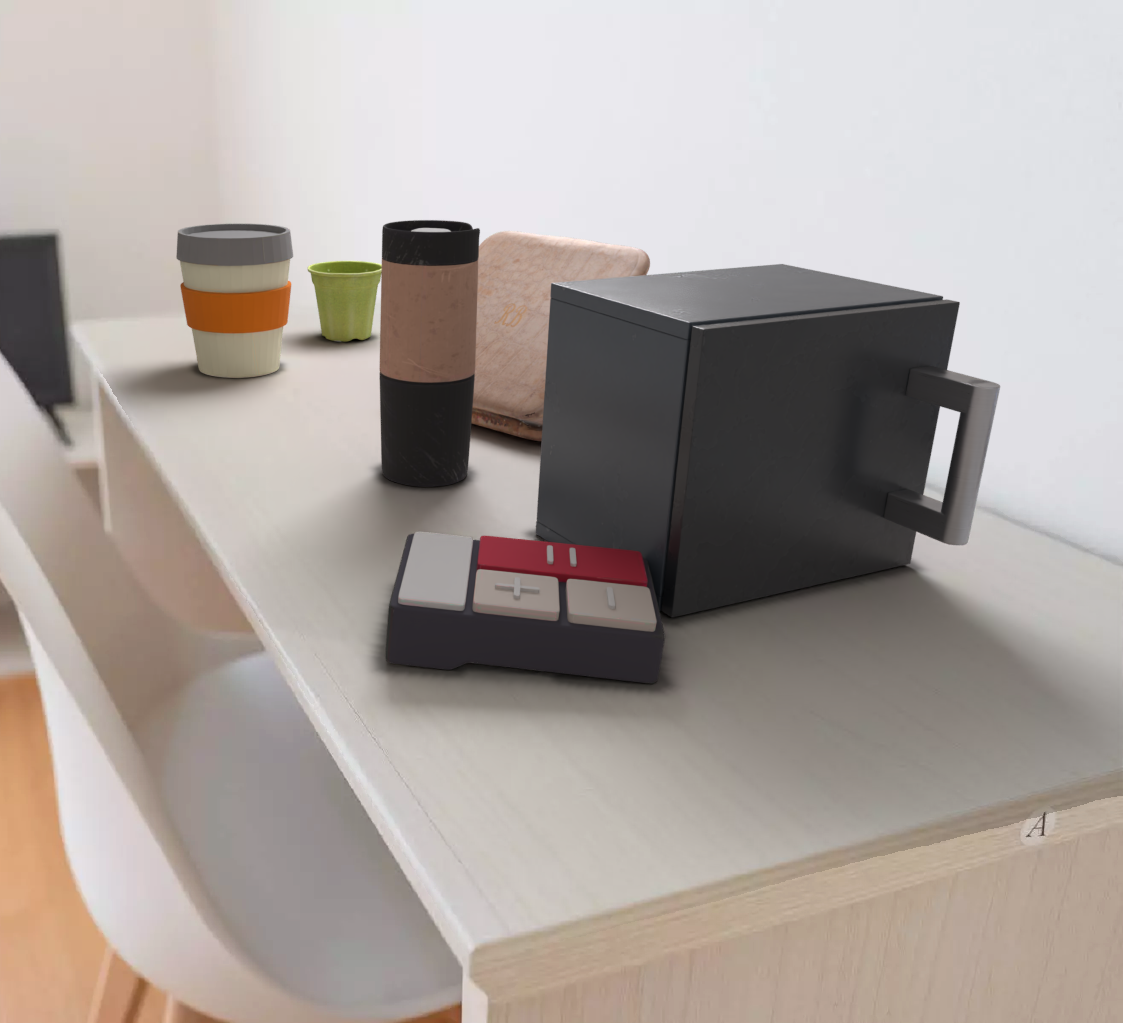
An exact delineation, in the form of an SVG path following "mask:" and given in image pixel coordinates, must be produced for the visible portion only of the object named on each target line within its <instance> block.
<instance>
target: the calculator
mask: <svg viewBox="0 0 1123 1023" xmlns="http://www.w3.org/2000/svg"><path fill="white" fill-rule="evenodd" d="M402 550H403V551H402V554H401V558H400V562H399V566H398V569H397V573H396V577H395V581H394V584H393V588H392V593H391V596H390V599H389V603H388V612H387V626H386V639H385V640H386V641H385V652H384V657H385V658H384V659H385V661H386V662H388V663H390V664H394V665H402V666H410V667H421V668H428V669H429V668H430V669H436V670H437V669H438V670H447V671H451V670H454V669H456V668H458V667H459V668H460V667H461V666H464V665H466V664H478V665H485V666H493V667H494V666H495V667H503V668H512V669H521V670H528V671H529V670H530V671H539V672H547V673H554V674H564V675H572V676H582V677H589V678H591V677H592V678H597V679H606V680H615V681H624V682H633V683H641V684H655V683H657V682H658V679H659V675H660V668H661V662H662V657H663V652H664V646H665V645H664V644H665V641H666V640H665V639H666V633H665V628H664V625H663V624H664V623H663V621H662V616H661V611H659V607H658V603H657V599H656V594H655V590H654V586H653V581H652V577H651V573H650V568H649V564H648V561H647V559H645V558H643V557H642V554H641V552H639V551H632V550H622V549H613V548H603V547H593V546H583V545H574V544H564V543H554V542H548V541H546V540H544V541H543V540H533V539H524V538H514V537H506V536H505V537H504V536H497V535H496V536H494V535H484V534H483V535H481V536H480V538H479V539H474V538H473V537H472V536H467V535H457V534H448V533H439V532H438V533H437V532H430V531H429V532H428V531H415V532H414V533H410V534H408V535H407V537H406V540H405V544H404V547H403V549H402Z"/></svg>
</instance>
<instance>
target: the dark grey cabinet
mask: <svg viewBox="0 0 1123 1023" xmlns="http://www.w3.org/2000/svg"><path fill="white" fill-rule="evenodd" d="M550 297H551V299H550V313H549V329H548V345H547V361H546V377H545V393H544V409H543V425H542V441H540V442H541V444H540V446H541V447H540V459H539V474H538V490H537V492H538V494H537V506H536V520H535V535H537V536H538V537H540V538H542V539H543V540H544V541H545V542H554V543H564V544H574V545H583V546H593V547H603V548H613V549H622V550H632V551H639V552H641V554H642V557H643V558H645V559H647V561H648V564H649V568H650V573H651V577H652V581H653V586H654V590H655V594H656V599H657V603H658V607H659V611H660V612H662V603H663V594H664V585H665V575H666V566H667V557H668V548H669V538H670V529H671V520H672V510H673V501H674V492H675V482H676V473H677V464H678V455H679V445H680V436H681V427H682V417H683V408H684V399H685V389H686V380H687V371H688V361H689V352H690V343H691V334H692V326H699V325H709V324H718V323H728V322H737V321H747V320H756V319H766V318H775V317H785V316H794V315H804V314H813V313H823V312H832V311H842V310H851V309H861V308H870V307H880V306H889V305H899V304H908V303H918V302H927V301H937V300H944V296H943V295H939V294H935V293H934V294H933V293H929V292H924V291H919V290H914V289H910V288H904V287H900V286H899V287H898V286H894V285H889V284H884V283H879V282H875V281H869V280H864V279H859V278H854V277H849V276H844V275H841V274H835V273H831V272H830V273H829V272H824V271H819V270H814V269H810V268H805V267H801V266H800V267H799V266H795V265H790V264H785V263H778V264H767V265H754V266H753V265H752V266H741V267H729V268H728V267H727V268H718V269H717V268H716V269H715V268H714V269H705V270H704V269H703V270H695V271H694V270H692V271H691V270H690V271H681V272H668V273H658V274H657V273H655V274H647V275H642V276H629V277H617V278H605V279H593V280H581V281H569V282H556V283H551V294H550Z"/></svg>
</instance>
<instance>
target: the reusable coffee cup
mask: <svg viewBox="0 0 1123 1023" xmlns="http://www.w3.org/2000/svg"><path fill="white" fill-rule="evenodd" d="M175 258H176V260H178V261H179V264H180V270H181V277H182V282H181V283H180V292H181V298H182V303H183V309H184V315H185V321H186V325H187V327H189V328H190V329H191V332H192V333H191V334H192V339H193V344H194V349H195V355H196V361H197V367H198V371H199V372H200V373H202V374H205V375H207V376H212V377H218V378H229V379H230V378H233V379H241V378H254V377H261V376H266V375H270V374H272V373H275V372H276V371H278V370H279V369H280V363H281V353H282V352H281V351H282V342H283V334H284V333H283V332H284V327H285V326H286V325H287V324H288V322H289V313H290V301H291V292H292V282H291V281H290V280H289V275H290V274H289V273H290V266H291V259H293V258H294V250H293V243H292V234H291V229H290V228H288V227H285V226H281V225H275V224H267V223H265V224H263V223H214V224H202V225H200V224H199V225H193V226H188V227H183V228H180V229H178V230H177V238H176V257H175Z"/></svg>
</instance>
